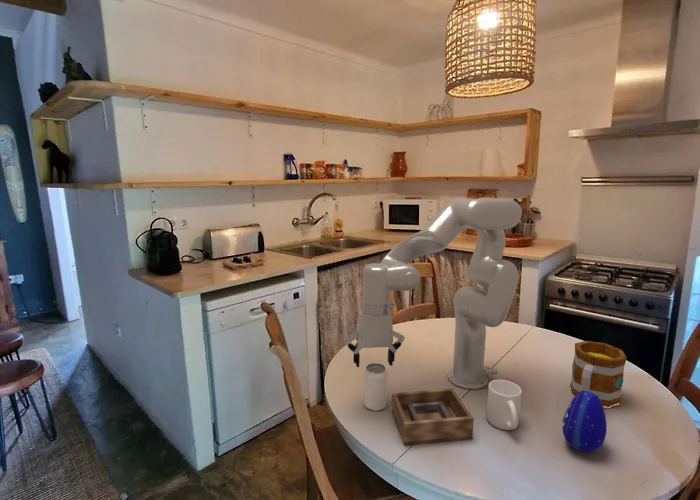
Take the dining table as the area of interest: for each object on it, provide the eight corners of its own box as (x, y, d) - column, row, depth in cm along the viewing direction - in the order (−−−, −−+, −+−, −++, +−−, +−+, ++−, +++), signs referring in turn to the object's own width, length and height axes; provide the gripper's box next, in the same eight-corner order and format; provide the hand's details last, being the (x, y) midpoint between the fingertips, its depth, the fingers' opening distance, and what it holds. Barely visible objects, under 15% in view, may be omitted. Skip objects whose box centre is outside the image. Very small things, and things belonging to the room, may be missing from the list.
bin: (451, 407, 113) (452, 388, 112) (472, 439, 99) (473, 418, 98) (391, 412, 111) (392, 393, 110) (404, 445, 97) (404, 424, 96)
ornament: (565, 427, 104) (571, 376, 101) (606, 442, 98) (613, 388, 95) (556, 450, 95) (562, 395, 92) (599, 467, 90) (607, 409, 87)
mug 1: (529, 441, 99) (533, 404, 97) (496, 440, 99) (499, 404, 97) (511, 412, 110) (514, 379, 108) (482, 412, 111) (484, 379, 109)
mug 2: (576, 379, 128) (581, 337, 125) (625, 395, 118) (631, 350, 115) (555, 404, 114) (560, 357, 111) (609, 424, 105) (616, 374, 102)
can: (385, 412, 111) (385, 374, 108) (362, 410, 112) (362, 372, 109) (387, 400, 117) (388, 363, 114) (366, 397, 118) (366, 361, 116)
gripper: (402, 302, 113) (399, 357, 116) (343, 304, 111) (342, 359, 114) (409, 311, 106) (406, 369, 109) (346, 313, 103) (345, 372, 107)
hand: (373, 364), depth 111 cm, fingers open, 9 cm apart
